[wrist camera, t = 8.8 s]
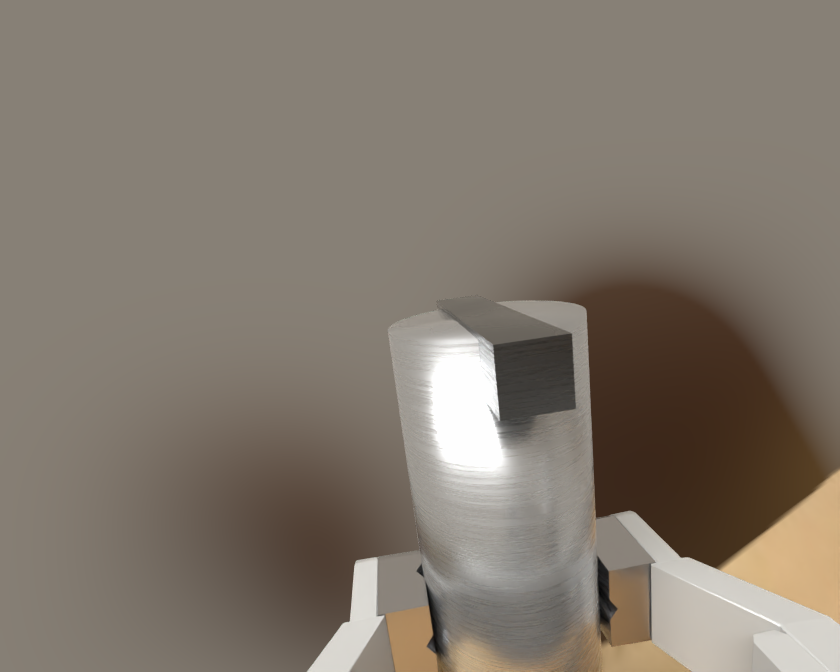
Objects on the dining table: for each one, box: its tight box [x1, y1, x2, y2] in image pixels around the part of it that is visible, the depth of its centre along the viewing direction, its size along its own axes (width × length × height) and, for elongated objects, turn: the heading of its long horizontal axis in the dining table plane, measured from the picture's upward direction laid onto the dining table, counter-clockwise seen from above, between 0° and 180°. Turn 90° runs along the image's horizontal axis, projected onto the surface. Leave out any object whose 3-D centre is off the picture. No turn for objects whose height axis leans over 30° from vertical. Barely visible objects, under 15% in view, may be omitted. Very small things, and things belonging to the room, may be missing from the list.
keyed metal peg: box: [388, 295, 602, 672], centre depth 9 cm, size 4×5×13 cm
